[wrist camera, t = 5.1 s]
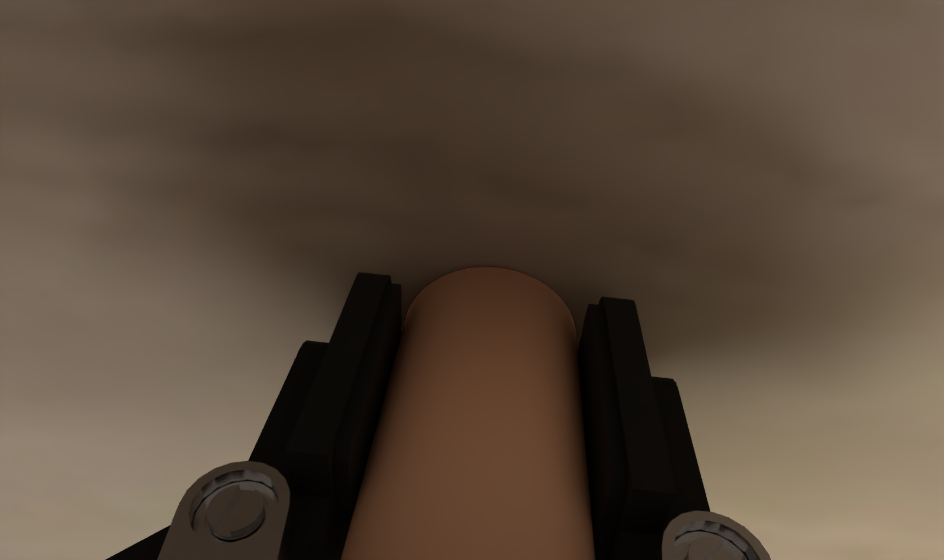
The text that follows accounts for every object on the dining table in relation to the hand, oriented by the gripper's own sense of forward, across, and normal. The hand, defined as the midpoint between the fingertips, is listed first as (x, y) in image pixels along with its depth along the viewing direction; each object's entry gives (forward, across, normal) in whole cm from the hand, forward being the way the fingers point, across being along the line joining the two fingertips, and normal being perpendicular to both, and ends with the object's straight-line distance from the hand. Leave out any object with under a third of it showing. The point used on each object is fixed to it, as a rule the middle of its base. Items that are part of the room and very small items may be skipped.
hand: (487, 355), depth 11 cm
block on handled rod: (+1, 0, +9) cm, 9 cm away
